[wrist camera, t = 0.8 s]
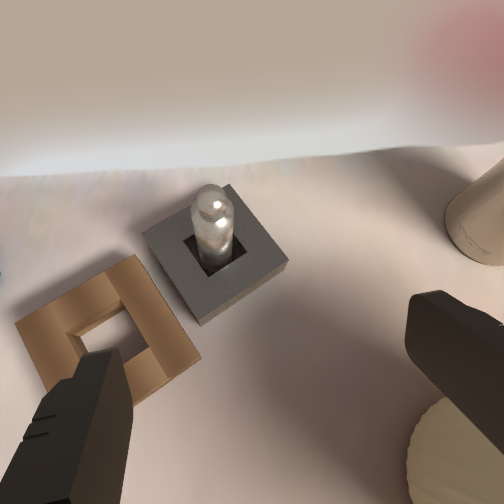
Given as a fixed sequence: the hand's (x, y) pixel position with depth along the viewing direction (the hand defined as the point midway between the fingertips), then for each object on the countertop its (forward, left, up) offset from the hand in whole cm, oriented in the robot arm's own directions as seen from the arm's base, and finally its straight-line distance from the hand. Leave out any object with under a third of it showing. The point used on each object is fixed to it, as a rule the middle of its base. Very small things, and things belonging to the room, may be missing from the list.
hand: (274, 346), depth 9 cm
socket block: (-4, -11, -23) cm, 26 cm away
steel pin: (-4, -11, -23) cm, 26 cm away
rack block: (+8, -9, -23) cm, 26 cm away
